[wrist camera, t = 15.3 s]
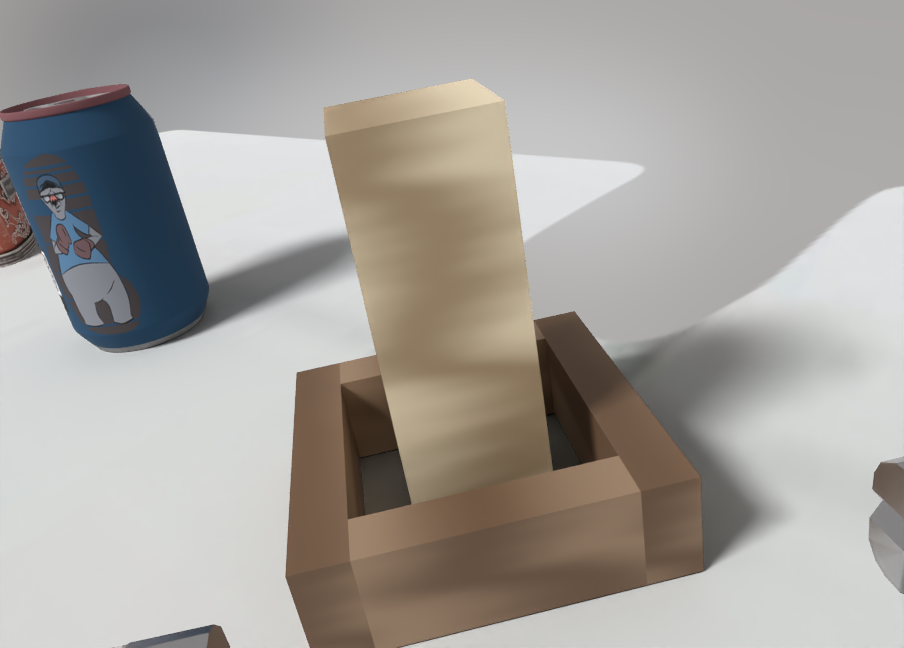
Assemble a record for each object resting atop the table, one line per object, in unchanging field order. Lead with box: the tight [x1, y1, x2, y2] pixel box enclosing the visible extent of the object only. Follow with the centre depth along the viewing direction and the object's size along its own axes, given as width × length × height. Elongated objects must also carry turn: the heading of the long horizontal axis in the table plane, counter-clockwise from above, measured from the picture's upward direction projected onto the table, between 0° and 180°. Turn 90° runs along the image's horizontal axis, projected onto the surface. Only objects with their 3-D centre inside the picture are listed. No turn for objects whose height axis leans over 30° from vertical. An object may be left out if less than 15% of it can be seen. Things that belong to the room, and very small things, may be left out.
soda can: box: [0, 84, 209, 352], centre depth 38 cm, size 7×7×12 cm
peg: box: [324, 79, 553, 504], centre depth 21 cm, size 4×4×12 cm
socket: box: [285, 312, 703, 648], centre depth 23 cm, size 10×10×3 cm
